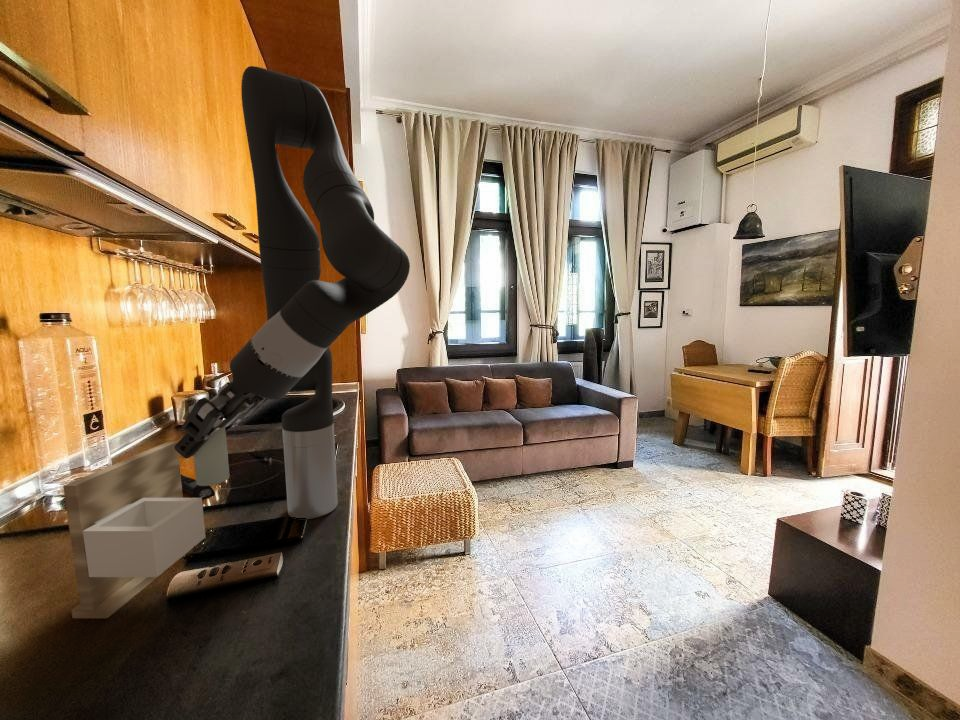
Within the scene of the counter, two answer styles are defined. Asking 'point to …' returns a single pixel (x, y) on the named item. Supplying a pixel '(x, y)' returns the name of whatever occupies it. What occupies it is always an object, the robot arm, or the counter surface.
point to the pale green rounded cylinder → (212, 459)
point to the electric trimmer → (196, 488)
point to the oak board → (103, 496)
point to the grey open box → (144, 537)
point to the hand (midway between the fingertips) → (194, 446)
